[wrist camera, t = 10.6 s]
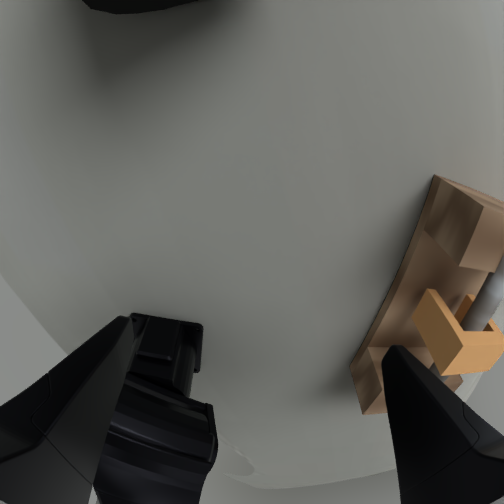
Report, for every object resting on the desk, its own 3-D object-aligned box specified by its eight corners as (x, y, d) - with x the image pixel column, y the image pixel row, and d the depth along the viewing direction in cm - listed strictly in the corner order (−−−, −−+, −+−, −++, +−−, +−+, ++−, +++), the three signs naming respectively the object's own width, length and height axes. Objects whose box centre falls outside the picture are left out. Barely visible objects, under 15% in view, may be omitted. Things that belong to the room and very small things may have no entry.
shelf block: (423, 364, 29) (444, 412, 23) (349, 366, 28) (365, 423, 22) (509, 204, 19) (560, 242, 13) (434, 174, 19) (494, 213, 12)
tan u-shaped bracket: (473, 294, 22) (509, 343, 16) (458, 320, 23) (488, 370, 17) (426, 288, 21) (463, 345, 15) (411, 317, 23) (440, 375, 17)
